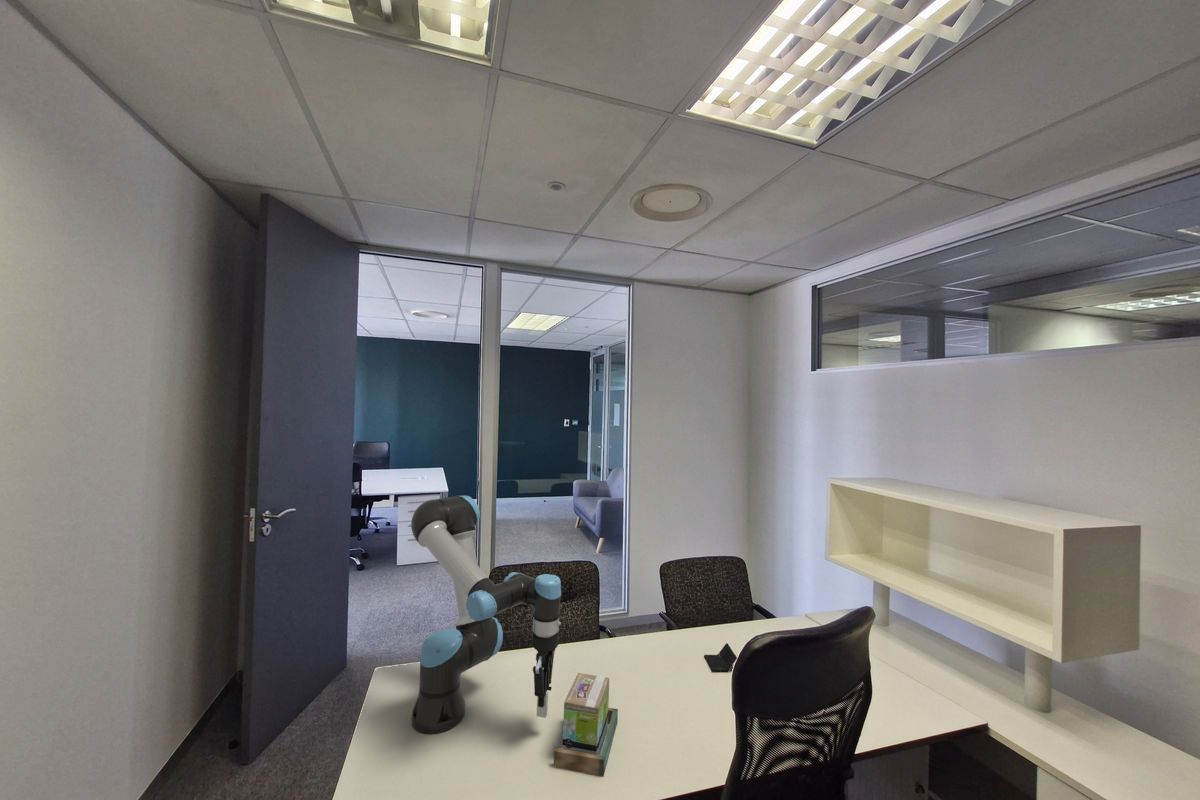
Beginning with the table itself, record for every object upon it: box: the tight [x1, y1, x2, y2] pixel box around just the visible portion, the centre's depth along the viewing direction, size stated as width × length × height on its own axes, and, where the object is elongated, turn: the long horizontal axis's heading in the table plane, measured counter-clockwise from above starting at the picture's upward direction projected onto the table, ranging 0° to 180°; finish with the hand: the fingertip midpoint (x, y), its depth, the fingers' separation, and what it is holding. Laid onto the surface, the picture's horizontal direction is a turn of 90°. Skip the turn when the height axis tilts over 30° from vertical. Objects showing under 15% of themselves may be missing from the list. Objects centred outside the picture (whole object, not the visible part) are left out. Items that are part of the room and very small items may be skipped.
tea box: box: [561, 672, 610, 756], centre depth 124 cm, size 15×10×15 cm, turn 168°
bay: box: [553, 707, 619, 777], centre depth 123 cm, size 13×21×4 cm, turn 168°
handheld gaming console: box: [703, 642, 738, 674], centre depth 165 cm, size 12×7×10 cm
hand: (541, 715), depth 127 cm, fingers closed
